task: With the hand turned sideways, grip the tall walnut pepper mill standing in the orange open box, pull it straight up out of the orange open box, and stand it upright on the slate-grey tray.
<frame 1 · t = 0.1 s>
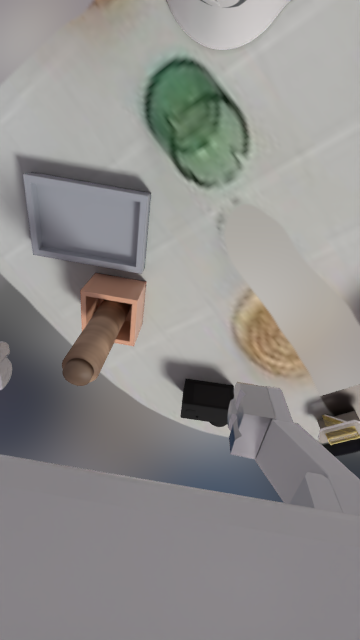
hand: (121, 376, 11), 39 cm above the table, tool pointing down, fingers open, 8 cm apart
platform: (333, 411, 65), on the table
tray: (92, 223, 47), on the table
digital camera: (207, 390, 64), on the table
orange open box: (120, 299, 54), on the table
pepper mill: (118, 302, 53), point 1 cm above the table, touching orange open box
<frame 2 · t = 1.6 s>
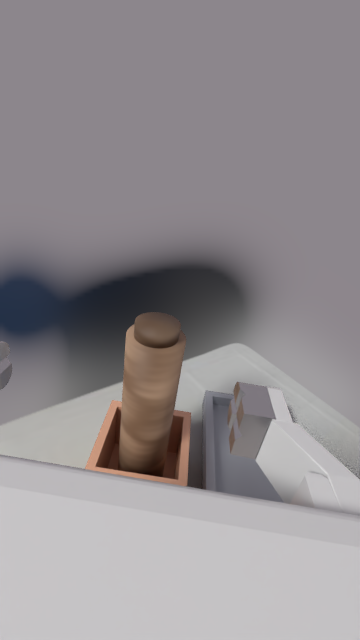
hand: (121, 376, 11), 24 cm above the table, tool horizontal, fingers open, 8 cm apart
tray: (249, 461, 37), on the table
orange open box: (139, 482, 32), on the table
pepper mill: (139, 477, 32), point 1 cm above the table, touching orange open box
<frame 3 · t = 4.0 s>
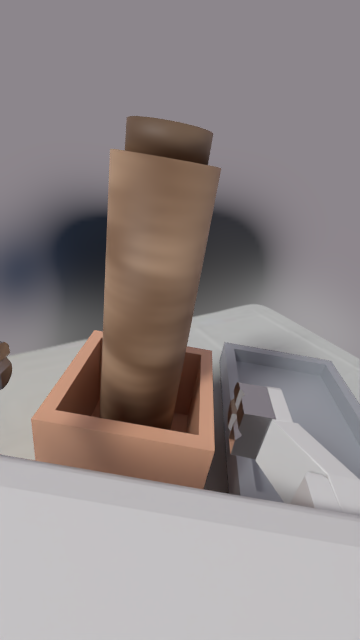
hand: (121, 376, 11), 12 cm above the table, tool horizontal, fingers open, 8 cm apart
tray: (291, 430, 26), on the table
orange open box: (132, 453, 21), on the table
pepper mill: (133, 444, 21), point 1 cm above the table, touching orange open box
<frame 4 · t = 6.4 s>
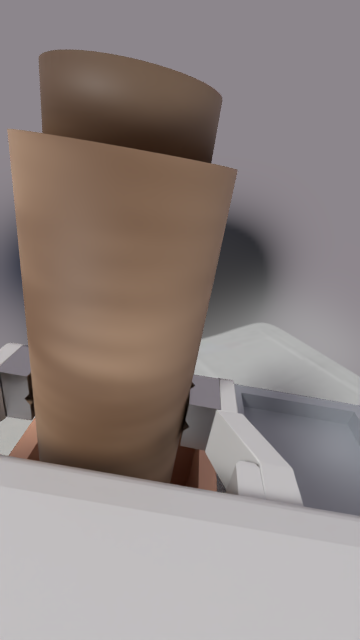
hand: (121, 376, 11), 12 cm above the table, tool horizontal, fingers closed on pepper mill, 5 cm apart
tray: (318, 514, 20), on the table
orange open box: (103, 571, 15), on the table
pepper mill: (103, 561, 15), point 1 cm above the table, touching orange open box, gripper
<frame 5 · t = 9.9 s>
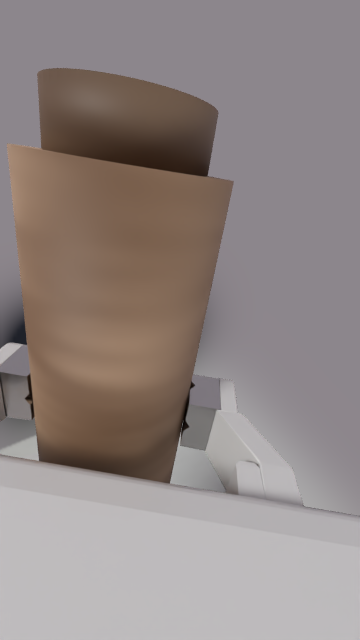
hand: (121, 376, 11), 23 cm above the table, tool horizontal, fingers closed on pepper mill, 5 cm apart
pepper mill: (103, 563, 15), point 12 cm above the table, touching gripper
when the fingers open (13 cm above the table, at t = 13.5 s): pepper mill stays where it is, resting on tray.
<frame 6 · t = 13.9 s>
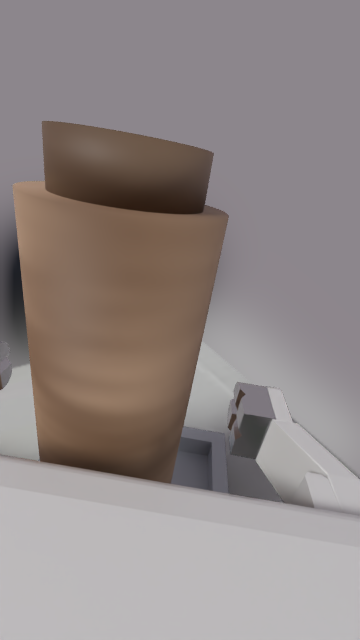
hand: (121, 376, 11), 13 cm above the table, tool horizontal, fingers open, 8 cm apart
tray: (111, 581, 16), on the table
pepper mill: (103, 571, 15), point 1 cm above the table, touching tray
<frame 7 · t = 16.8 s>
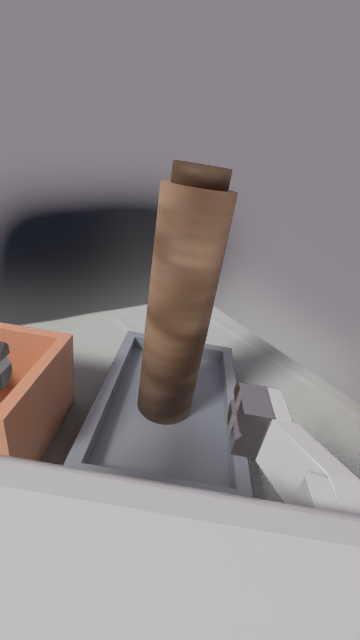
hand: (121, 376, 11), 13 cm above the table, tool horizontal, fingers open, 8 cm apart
tray: (168, 412, 27), on the table
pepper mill: (164, 403, 26), point 1 cm above the table, touching tray
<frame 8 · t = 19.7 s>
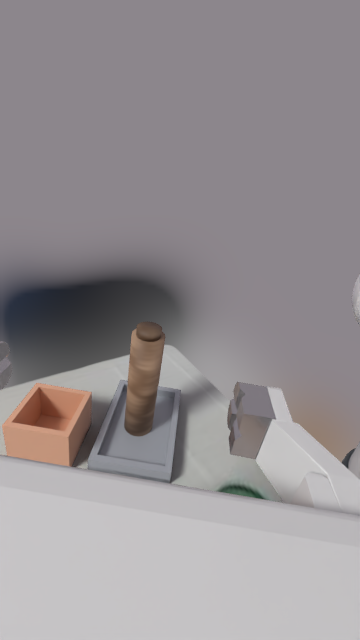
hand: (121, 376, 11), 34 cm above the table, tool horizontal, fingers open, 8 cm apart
tray: (140, 429, 51), on the table
orange open box: (53, 440, 47), on the table
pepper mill: (138, 425, 51), point 1 cm above the table, touching tray
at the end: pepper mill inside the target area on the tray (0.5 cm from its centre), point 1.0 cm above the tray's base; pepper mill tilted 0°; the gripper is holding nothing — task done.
